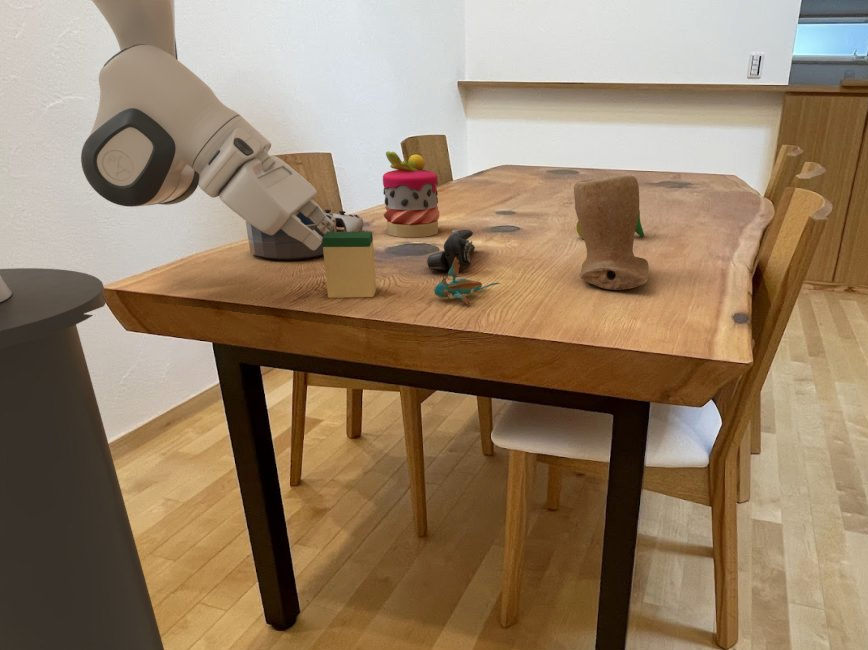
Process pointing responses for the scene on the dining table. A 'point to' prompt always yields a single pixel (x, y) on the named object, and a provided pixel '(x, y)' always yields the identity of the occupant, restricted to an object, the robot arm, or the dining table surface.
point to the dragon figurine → (457, 285)
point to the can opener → (453, 251)
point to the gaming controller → (347, 221)
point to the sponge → (349, 264)
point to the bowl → (284, 242)
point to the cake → (410, 198)
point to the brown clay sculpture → (610, 232)
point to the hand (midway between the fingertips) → (325, 237)
